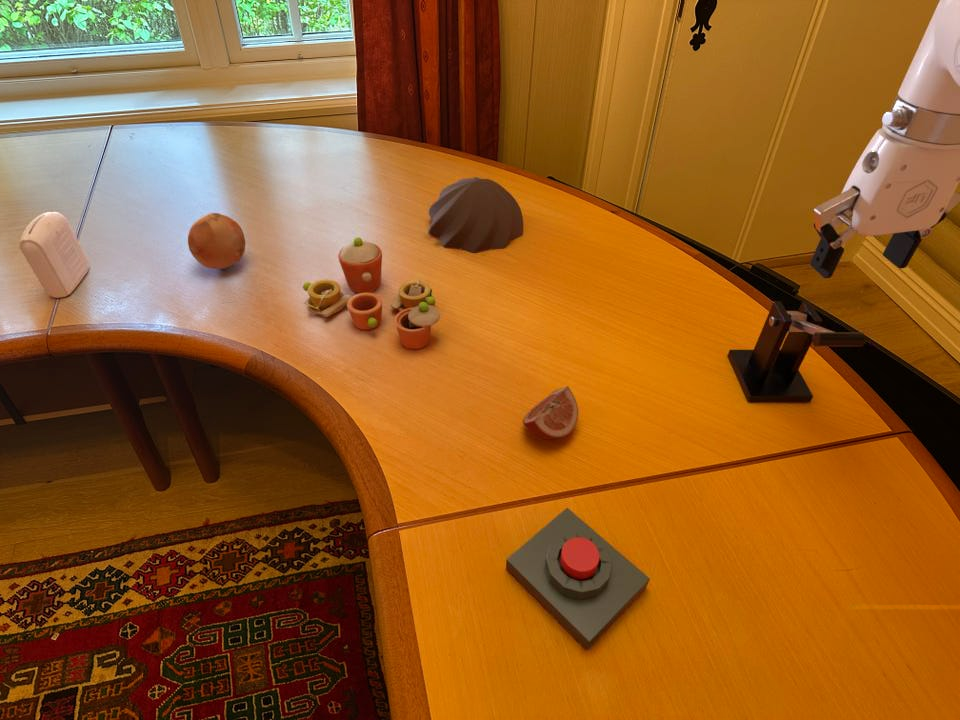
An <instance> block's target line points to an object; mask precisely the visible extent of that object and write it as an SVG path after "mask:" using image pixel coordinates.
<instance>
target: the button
mask: <svg viewBox="0 0 960 720" xmlns="http://www.w3.org/2000/svg"><path fill="white" fill-rule="evenodd" d="M599 559H600V555H599V551H598V549H597V547H596V546H595V544H594V543H592V542H591V541H590V540H588V539H585V538H581V537H576V538H572V539H570V540H568V541H567V542H566V543H565V544H564V545H563V548H562V552H561V557H560V563H561V566H562V569H563V570H564V571H565V573H566V574H567V575H569V576H570V577H572V578H575V579H587V578H590V577H591V576H592V575H594V573H595V572H596V570H597V567H598V563H599Z"/></svg>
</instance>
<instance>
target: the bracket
mask: <svg viewBox="0 0 960 720" xmlns="http://www.w3.org/2000/svg"><path fill="white" fill-rule="evenodd" d="M787 311H788V310H786V308H785V306H784V305H783V303H782V301H773V302H772V305H771V307H770V309H769V312H768V314H767V316H766V318H765V320H764V324H763V326H762V329H761V331H760V334H759V336H758V337H757V341H756V343H755V344H754V345H755V346H754V348H753V349H729V350H728V353H727V358H728V361H729V362H730V365H731V367H732V370H733V372H734V374H735V376H736V379H737V382H738V383H739V385H740V387H741V391H742V392H743V395H744V396H745V399H746V401H747V403H811V402H812V400H813V398H814V395H813V393H812V391H811V389H810V387H809V386H808V384H807V382H806V380H805V379H804V377H803V374H802V373H801V371H800V370H799V369H800V368H801V366H802V364H803V361H804V359H805V358H806V355H807V353H808V352H809V350H810V348H811V345H812V344H813V342H812V337H813V335H812V334H810V333H807V332H788V330H789V328H790V326H791V324H792V320H791V318H790V316H789V315H788V313H787ZM797 311H798V312H801V313H803V314H806V315H807V320H806V321H807V322H809V323H812V324H815V325H817V326H820V327H821V325H822V324H823V320H822V318H821V317H820V316H819V314H818V312H817V310H816V309H815V308H814V306H813V305H812V303H811V301H801V304H800V306H799V308H798V310H797Z"/></svg>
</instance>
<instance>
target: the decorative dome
mask: <svg viewBox="0 0 960 720" xmlns="http://www.w3.org/2000/svg"><path fill="white" fill-rule="evenodd" d="M520 207H521V206H520V205H519V202H518V201H517V200H516V198H515V197H514V196H513V195H512V194H511V193H510V192H509V191H508V190H507V189H506V188H504V187H503V186H502V185H501V184H500V183H498V182H496V181H494V180H493V179H489V178H481V177H477V176H473V177H470V178H469V177H468V178H467V177H465V178H460V179H459V180H457V181H456V182H453V183H452V184H449V185H447V186H446V187H444V188H442V189H441V191H440V192H439V195H438V199H436V201H434V202H433V203H432V204H431V205H430V207H429V209H428V215H429V218H430V221H431V224H430V225H429V228H428V230H427V233H428V235H431V236H432V237H434V238H436V239H438V240H439V242H440V244H441V245H442V247H443V248H451V249H452V248H453V249H461V250H464V251H466V252H468V253H471V254H477V253H479V252H483V251H485V250H494V249H495V250H499V249H502V250H503V249H505V248H507V246H508V245H509V243H510V242H511V241H513V240H516V239H518V238H520V237H522V236H523V234H524V217H523V212H522V209H521V208H520Z"/></svg>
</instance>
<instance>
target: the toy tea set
mask: <svg viewBox="0 0 960 720" xmlns="http://www.w3.org/2000/svg"><path fill="white" fill-rule="evenodd" d="M337 258H338V262H339V264H340V267H341V270H342V273H343V275H344V276H343V277H344V279H345V281H346V283H347V286H348V288H349V289H350V290H351V291H352V292H354V293H356V294H355V295H353V296H351V295H350V294H346V295H345V294H344V293H343V291H341V285H340V284H339V282H338V281H336V280H333V279H329V278H327V279H319V280H316V281H314V282H312V283H311V282H308V281H307V282H304V283H303V284H302V289H303V290H304V291H305V292H307V294H308V296H309V297H308V299H307V300H306V302H304V304H305V305H306V308H307V309H308V310H309V311H310V312H311V313H313V314H316V315H320V316H322V317H324V318H328V317H330V316H332V315H333V314H336V313H338V312H340V311H342V309H343V308H345V306H347V307H346V308H347V310H348V312H349V315H350V318H351V320H352V323H353V325H354V326H355V327H356V328H357V329H360V330H364V331H365V330H367V331H368V330H372V329H375V328H377V327H378V326H379V325H380V324H381V323H382V317H383V315H382V314H383V299H382V297H381V296H380V295H379V294H377V293H373V292H374V291H376V290H377V289H379V287H380V286H381V283H382V266H383V265H382V263H383V252H382V249H381V247H379V246H378V245H377V244H375V243H374V242H369V241H367V240H363V239H362V238H361V237H359V236H356V237H355V238H354V239H353V241H351V242H349V243H347V244H346V245H345V246H343V247H342V248H340V250H339V252H338V255H337ZM397 292H398V293H397V295H396V296H395V298H393V299H392V300H391V301H390V303H389V304H390V305H389V306H390V307H391V309H394V310H396V309H397V311H398V313H397V314H396V315H395V317H394V325H395V328H396V330H397V334H398V336H399V340H400V343H401V344H402V345H403V347H405V348H407V349H409V350H419V349H422V348H424V347H426V346H427V345H428V343H429V342H430V339H431V330H432V326H433V325H435V324H437V323H438V322H439V321H440V319H441V312H440V310H439V309H438V308H437V307H435V305H436V299H435V297H434V296H433V294H432V293H433V288H431V287H430V285H429V284H428V283H427V282H424V281H423V280H422V279H419V280H410V281H406V282H404V283H402V284H401V285H400V286H399V287H398V291H397Z"/></svg>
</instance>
